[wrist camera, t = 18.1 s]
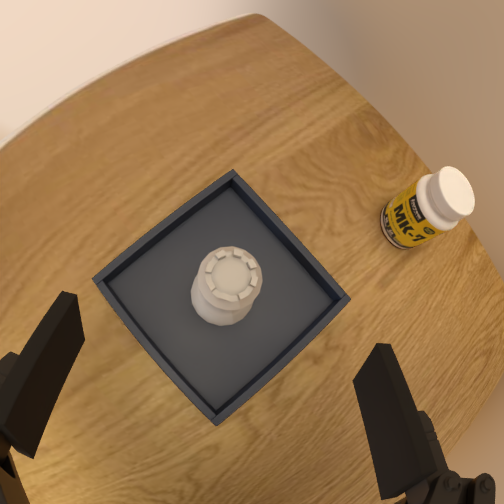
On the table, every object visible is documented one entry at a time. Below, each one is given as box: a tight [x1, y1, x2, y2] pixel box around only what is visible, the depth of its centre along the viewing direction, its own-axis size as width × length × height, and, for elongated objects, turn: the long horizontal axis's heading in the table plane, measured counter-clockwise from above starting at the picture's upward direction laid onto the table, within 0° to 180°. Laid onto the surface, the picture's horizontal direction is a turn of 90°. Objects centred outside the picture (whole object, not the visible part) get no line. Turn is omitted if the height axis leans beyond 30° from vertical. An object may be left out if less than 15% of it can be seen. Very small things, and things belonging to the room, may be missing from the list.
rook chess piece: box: [191, 246, 263, 326], centre depth 19 cm, size 4×4×8 cm
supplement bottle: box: [381, 166, 475, 249], centre depth 23 cm, size 5×5×8 cm
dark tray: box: [92, 169, 351, 426], centre depth 22 cm, size 13×13×2 cm
